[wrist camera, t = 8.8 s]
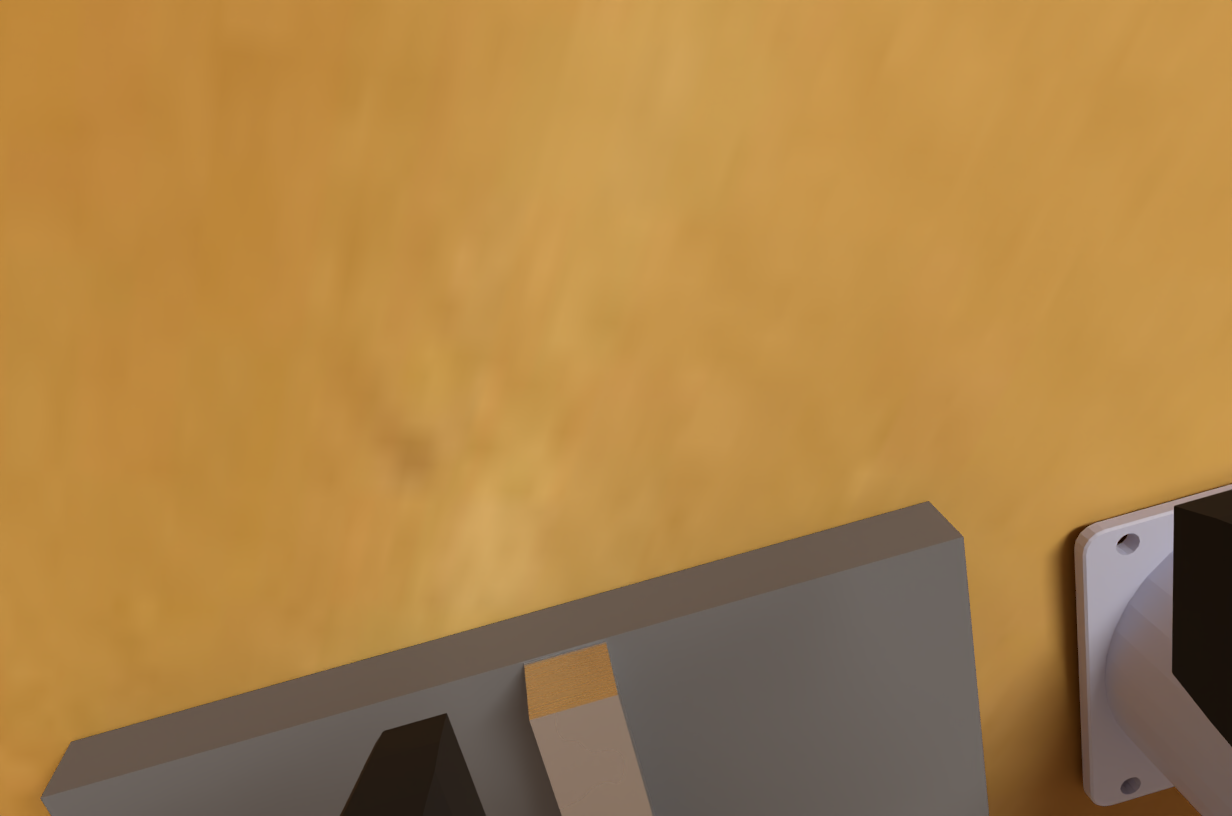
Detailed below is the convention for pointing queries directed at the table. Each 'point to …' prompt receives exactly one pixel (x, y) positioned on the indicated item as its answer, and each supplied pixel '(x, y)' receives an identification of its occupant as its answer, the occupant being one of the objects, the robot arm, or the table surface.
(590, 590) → the table surface
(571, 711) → the shafts
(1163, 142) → the table surface
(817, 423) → the table surface
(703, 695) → the board
